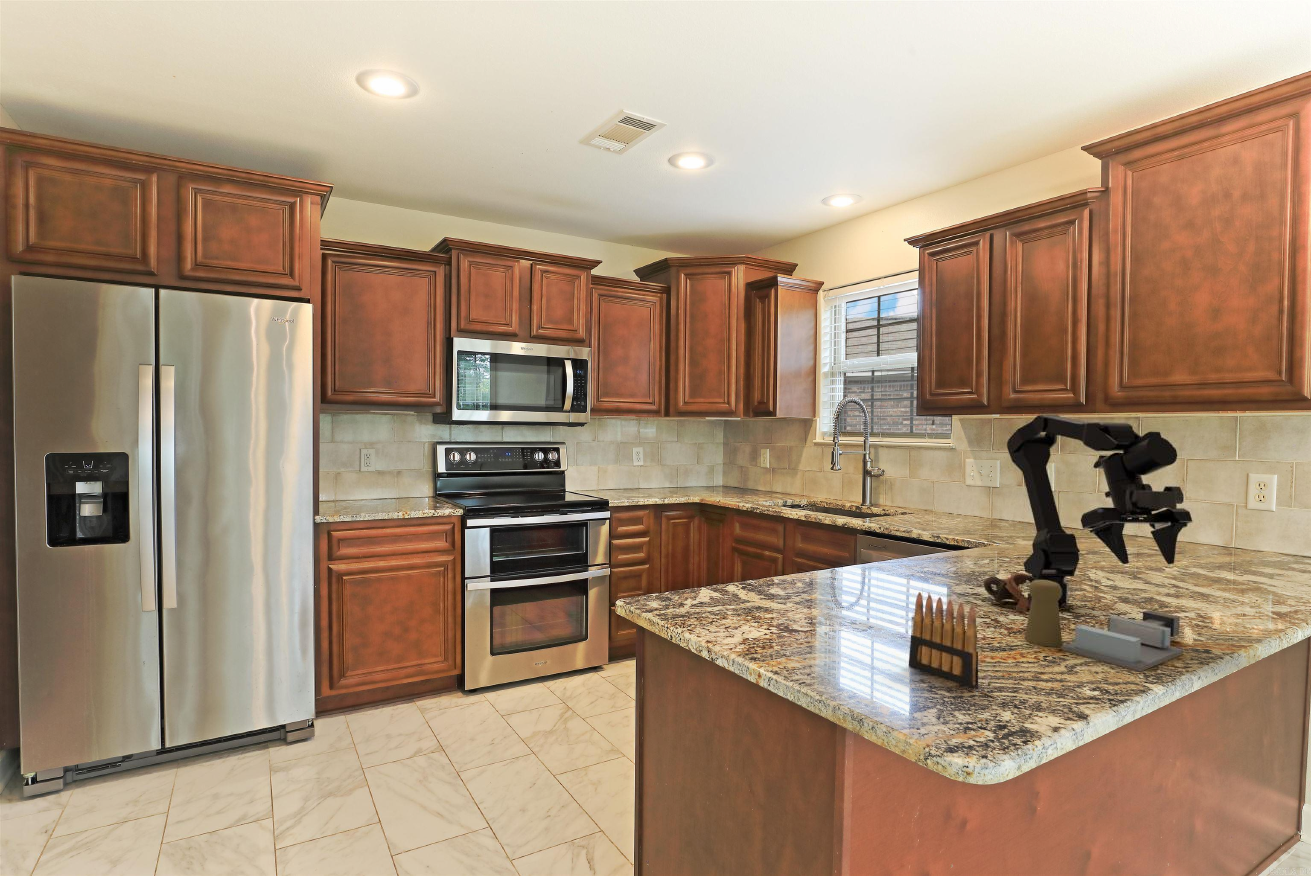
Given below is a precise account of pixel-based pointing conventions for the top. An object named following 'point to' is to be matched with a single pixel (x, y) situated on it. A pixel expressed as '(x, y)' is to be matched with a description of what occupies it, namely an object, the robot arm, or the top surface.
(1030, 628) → the cork
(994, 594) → the brown twisted loop knot
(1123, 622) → the vise jaw
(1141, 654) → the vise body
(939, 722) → the top surface
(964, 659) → the ammunition clip
